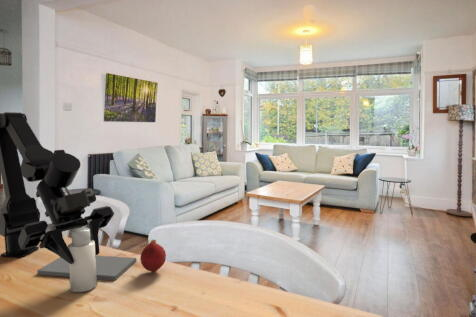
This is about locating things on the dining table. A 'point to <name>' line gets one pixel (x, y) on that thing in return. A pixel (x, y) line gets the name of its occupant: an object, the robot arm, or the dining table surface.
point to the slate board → (104, 267)
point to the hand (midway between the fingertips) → (85, 258)
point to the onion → (153, 256)
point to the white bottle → (82, 261)
